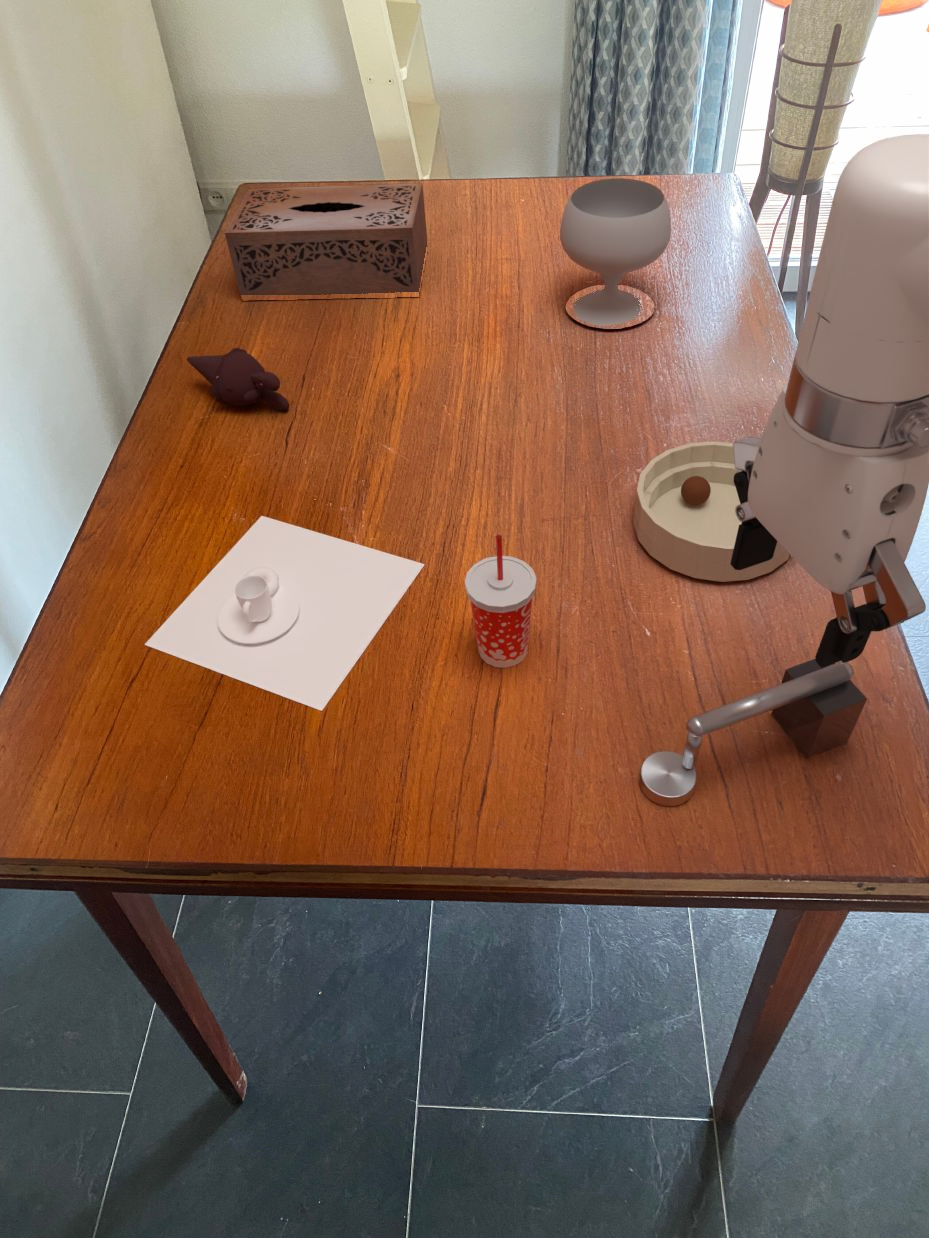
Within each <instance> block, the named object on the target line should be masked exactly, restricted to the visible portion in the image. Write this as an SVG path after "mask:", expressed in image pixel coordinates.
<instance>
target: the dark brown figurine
mask: <svg viewBox="0 0 929 1238" xmlns="http://www.w3.org/2000/svg"><path fill="white" fill-rule="evenodd" d="M186 361H187V362H188V363H189V364H190V365H191V366H192V367H193V368H194V369H195V370H196V371H197V372H198V374H200V375H202V377H203V378H204V379H205V380H206V381H207V382H208V383H209V384H210V385H211V386H210V388H209V389H210V391H209V392H210V394H211V396H213V397H214V398H215V400H216V402H219V403H222V404H224V405H233V406H235V407H243V406H248V405H251V404H255V403H257V402H258V401H260V400H261V401H263V402H264V403H265V404H267V405H268V406H270V407H271V408H273V409H275V410H278V411H281V412H285V411H286V412H287V411H288V410H289V408H290V403H289V401H288V399H287V398H286V397H284V395H282V394H281V393H280V392H278V391H279V389H280V388H281V381H280V378H279V377H278V376H277V375H276V374H275V373H273V372H270V371H266V370H265V368H264V366H263V365H262V364H261V363H260V362H259V361H258V360H257V359H256V358H255V357H254V356H252V354H249V353H248V351H247V350H246V349H244V348H240V347H234V348H232V349H231V350H230V351H229V352H227V353H225V354H216V355H194V356H187V357H186Z"/></svg>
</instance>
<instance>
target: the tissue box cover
mask: <svg viewBox="0 0 929 1238" xmlns="http://www.w3.org/2000/svg"><path fill="white" fill-rule="evenodd" d="M232 216H233V217H232V218H231V220H230V222H229V224H228V226H227V228H226V230H225V231H224V235H225V236H224V237H225V240H226V244H227V248H228V251H229V255H230V259H231V264H232V268H233V272H234V275H235V280H236V283H237V287H238V291H239V295H240V296H241V295H322V294H323V295H327V294H329V295H331V294H362V293H363V294H366V293H367V294H368V293H389V292H390V293H395V292H400V293H401V292H419V288H420V282H421V276H422V270H423V264H424V258H425V253H426V247H427V241H428V232H427V219H426V208H425V198H424V187H423V182H413V183H412V182H407V183H406V182H404V183H374V184H373V183H372V184H346V185H345V184H344V185H342V184H341V185H339V184H338V185H311V186H280V187H279V186H278V187H277V186H276V187H250V188H247V190H246V191H245V194H244V195H243V197H242V199H241V201H240V203H239V205H238V206H237V209H236V210H235V213H234V214H233V215H232Z"/></svg>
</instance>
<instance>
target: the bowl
mask: <svg viewBox="0 0 929 1238" xmlns="http://www.w3.org/2000/svg"><path fill="white" fill-rule="evenodd" d="M733 443H734V442H726V441H725V442H724V441H715V440H711V441H699V442H689V443H685V444H683V445H679V446H675V447H673V448H670V449H666V450H665V451H663V452H661V453H660V454H659V455H657V456H655V457H653V458H652V459H651V460H649V462H648V463H647V465H646V466H644V468H643V470H642V471H641V472H640V474H639V478H638V481H637V487H636V494H635V503H634V511H633V521H632V524H633V527H634V530H635V534H636V538H637V541H638V542H639V543H640V544H641V545H642V547H643V549H645V551H646V552H647V553H648V555H649V556H650V557H652V558H653V559H655V560H656V561H658V562H659V563H660V564H662V565H663V566H664V567H667V568H668V569H669V570H672V571H674V572H677V573H680V574H682V575H685V576H688V577H691V578H693V579H699V580H707V581H713V582H719V583H720V582H721V583H725V582H736V581H737V582H738V581H748V580H751V579H755V578H759V577H760V576H763V575H767V574H770V573H772V572H773V571H774V570H776V569H778V567H780V566H781V565H783V564H784V563H785V562H786V561H788V560H789V559H790V557H791V555H790V554H789V553H788V552H787V551H786V549H785V548H784V547H783V546H782V545H781V544H780V543H779V542H778V541H777V545H776V548H775V552H774V555H773V558H772V559H771V560H768V561H766V562H763V563H760V564H757V565H754V566H751V567H748V568H745V569H742V570H735V569H734V568H733V567H732V566H731V564H730V563H731V558H732V554H733V550H734V545H735V541H736V536H737V532H738V528H739V525H740V524H742V522H741V521H739V520H738V518H737V516H736V512H735V509H736V506H737V505H740V501H739V497H738V494H737V490H736V487H735V484H734V475H735V473H738V472H737V469H735V462H734V453H733ZM693 476H700V477H703V478H704V479H706V480H707V481H708V483H709V484H710V488H711V493H710V496H709V498H708V499H707V500H706V501H705V502H704V503H702V504H700V505H691V504H688V503H687V502H685V501H684V499H683V498H682V495H681V487H682V485H683V483H684V482H685V480H687V479H688V478H690V477H693Z"/></svg>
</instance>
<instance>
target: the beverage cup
mask: <svg viewBox="0 0 929 1238" xmlns="http://www.w3.org/2000/svg"><path fill="white" fill-rule="evenodd" d="M495 547H496V551H495V552H496V555H495V556H490V557H486V558H485V557H484V558H483V559H481V560H479V561H477V562H476V563H474V564H473V565H472V566H471V567H470V569H469V570H467V572H466V575H465V578H464V579H465V580H464V587H465V592H466V595H467V598H468V600H469V601H470V602H469V603H470V608H471V615H472V619H473V627H474V631H475V632H474V633H475V638H476V645H477V651H478V654H479V657H480V658H481V660H483V662H485V664H487V665H490V666H492V667H494V668H502V669H506V668H511V667H515V666H516V665H518V664H520V663H521V662H523V660H524V659H525V658H526V656H527V655H528V649H529V642H530V641H529V640H530V628H531V615H532V606H533V605H532V604H533V597H534V596H535V595H536V589H537V576H536V573H535V571H534V568H532V566H530V565H529V564H528V563H527V562H525V560H521V559H519V558H517V557H514V556H511V555H510V556H509V555H503V537H502V535H501V534H497V535H495Z"/></svg>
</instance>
